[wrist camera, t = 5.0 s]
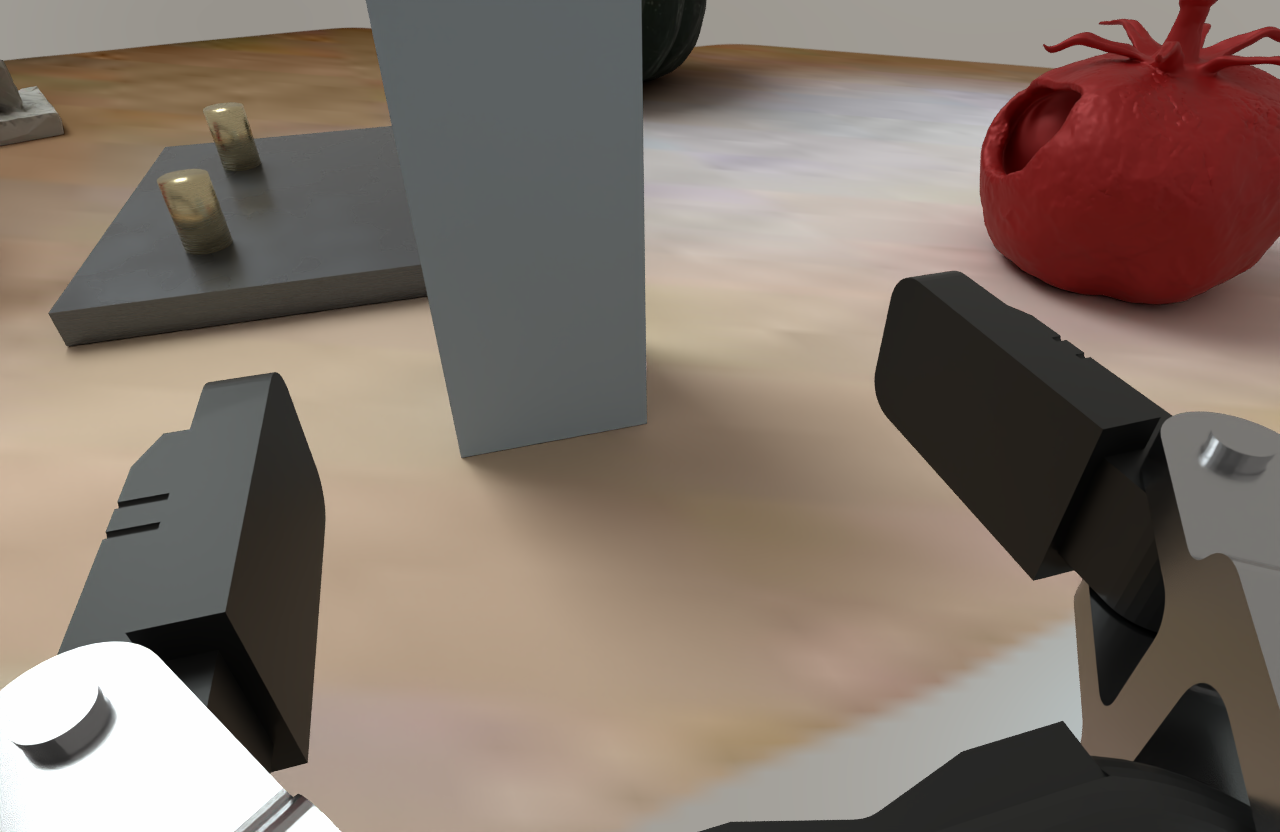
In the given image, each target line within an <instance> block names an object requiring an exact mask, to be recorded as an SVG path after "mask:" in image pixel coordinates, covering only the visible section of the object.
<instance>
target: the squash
mask: <svg viewBox="0 0 1280 832" xmlns="http://www.w3.org/2000/svg"><path fill="white" fill-rule="evenodd" d="M641 7H642V81H649V80H653V79H656V78H659V77H662V76H664V75H666V74H668V73H670V72H672V71H673V70H675V69H676V68H677V67H678V66H680V65H681V64H682V63H683V62H684V61H685V60H686V58H687V57H688V55H689V54H690V53H691V51H692V50H693V48H694V47H695V45H696V42H697V40H698V37H699V34H700V30H701V26H702V22H703V18H704V14H705V9H706V0H641Z"/></svg>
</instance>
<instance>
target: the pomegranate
mask: <svg viewBox="0 0 1280 832" xmlns="http://www.w3.org/2000/svg"><path fill="white" fill-rule="evenodd" d="M1216 1H1218V0H1179V6H1180V11H1179V14H1178V17H1177V19H1176V21H1175V23H1174V25H1173V27H1172V29H1171V31H1170V33H1169V35H1168V37H1167V39H1166V40H1165V42H1164V43H1163V45H1160V44H1158V43H1157V42H1156V41H1155V40H1153V39H1152V38H1151V36H1150V35H1149V33H1148V32H1147V31H1146V30H1145V29H1144V28H1143V26H1142V25H1141V24H1140V23H1139V22H1138V21H1136V20H1128V19H1119V20H1112V21H1104V22H1100V23H1099V24H1101V25H1123V27H1124V29H1125V30H1126V32H1127V35H1128V37H1129V39H1130V40H1131V42H1132V44H1133V46H1132V45H1130V44H1125V43H1118V42H1113V41H1110V40H1107V39H1104V38H1101V37H1099V36H1097V35H1095V34H1093V33H1090V32H1084V33H1080V34H1076V35H1074V36H1072V37H1070V38H1068V39H1066V40H1065V41H1063V42H1061V43H1060V44H1057V45H1055V46H1050V47H1049V46H1046V45H1045V44H1043V46H1044V48H1045V49H1046V50H1047V51H1048V52H1050V53H1054V52H1058V51H1061V50H1063V49H1065V48H1068V47H1070V46H1074V45H1084V46H1088V47H1091V48H1096V49H1099V50H1102V51H1105V52H1108V53H1106V54H1103V55H1099V56H1095V57H1091V58H1088V59H1085V60H1081V61H1078V62H1074V63H1071V64H1068V65H1065V66H1063V67H1059V68H1055V69H1053V70H1050V71H1048V72H1046V73H1044V74H1042V75H1041V76H1039V77H1038V78H1036V79H1035V80H1033V81H1032V83H1031V84H1030V86H1029V87H1028V88H1027V89H1025V90H1023V91H1021V92H1018V93H1017V94H1016V95H1015V96H1014V97H1013V98H1011V99H1010V101H1009V102H1008V103H1007V104H1006V105H1005V106H1004V107H1003V108H1002V109H1001V110H1000V111H999V113H998V114H997V115H996V117H995V118H994V120H993V122H992V123H991V125H990V127H989V129H988V131H987V134H986V137H985V139H984V142H983V144H982V150H981V160H980V197H981V204H982V207H983V215H984V222H985V226H986V228H987V231H988V234H989V236H990V238H991V240H992V242H993V244H994V246H995V247H996V249H997V250H998V251H999V252H1000V253H1002V254H1003V255H1004V256H1005V257H1007V258H1009V259H1010V260H1011V261H1012V262H1014V263H1015V264H1016V265H1017V266H1018V267H1019V268H1020V269H1021V270H1023V271H1025V272H1027V273H1028V274H1030V275H1032V276H1035V277H1037V278H1039V279H1040V280H1042V281H1044V282H1046V283H1047V284H1049V285H1052V286H1054V287H1057V288H1060V289H1063V290H1067V291H1071V292H1075V293H1079V294H1084V295H1105V296H1109V297H1112V298H1115V299H1119V300H1122V301H1126V302H1131V303H1146V304H1166V303H1174V302H1182V301H1186V300H1188V299H1190V298H1192V297H1194V296H1196V295H1199V294H1202V293H1204V292H1206V291H1207V290H1209V289H1210V288H1212V287H1214V286H1216V285H1219V284H1222V283H1224V282H1225V281H1227V280H1229V279H1231V278H1233V277H1235V276H1237V275H1238V274H1241V273H1243V272H1245V271H1246V270H1248V269H1250V268H1251V267H1253V266H1254V265H1255V264H1256V263H1257V262H1258V261H1259V260H1260V258H1261V257H1262V256H1263V255H1264V253H1265V252H1266V251H1267V250H1268V249H1269V248H1270V247H1271V246H1272V244H1273V243H1274V242H1275V241H1276V239H1277V238H1278V237H1280V79H1277V78H1276V77H1274V76H1272V75H1271V74H1269V73H1267V72H1265V71H1263V70H1261V69H1259V68H1255V67H1254V66H1250V65H1256V64H1274V65H1279V66H1280V56H1274V57H1240V56H1235V55H1232V54H1234V53H1236V52H1238V51H1240V50H1241V49H1243V48H1245V47H1247V46H1249V45H1252V44H1253V43H1255V42H1257V41H1258V40H1260V39H1262V38H1263V37H1269V38H1271V39H1273V40H1275V41H1277V42H1280V29H1278V28H1276V27H1265V28H1261V29H1258V30H1255V31H1252V32H1249V33H1245V34H1242V35H1237V36H1235V37H1232V38H1229V39H1226V40H1224V41H1221V42H1219V43H1217V44H1215V45H1213V46H1211V47H1207V48H1202V47H1203V44H1204V41H1205V37H1206V35H1207V33H1208V32H1209V29H1210V28H1211V25H1210V24H1207V23H1204V22H1205V20H1206V17H1207V15H1208V13H1209V10H1210V7H1211V6H1212V5H1213V4H1214V3H1215V2H1216Z"/></svg>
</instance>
